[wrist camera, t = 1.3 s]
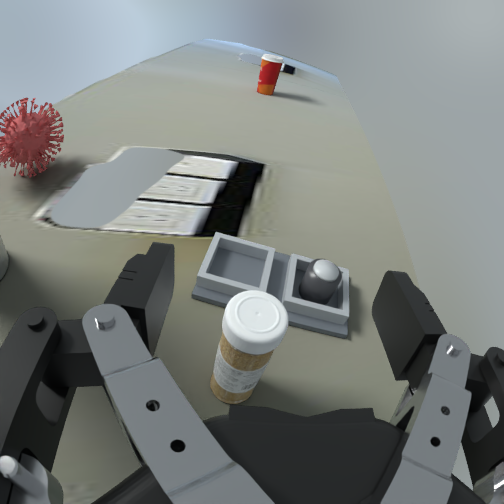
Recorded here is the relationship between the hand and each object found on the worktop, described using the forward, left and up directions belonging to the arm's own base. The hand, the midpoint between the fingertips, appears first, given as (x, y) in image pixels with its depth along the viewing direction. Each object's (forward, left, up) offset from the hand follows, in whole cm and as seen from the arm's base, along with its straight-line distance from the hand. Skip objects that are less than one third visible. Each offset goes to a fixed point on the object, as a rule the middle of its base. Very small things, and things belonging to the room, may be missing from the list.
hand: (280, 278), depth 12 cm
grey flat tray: (+3, +20, -23) cm, 31 cm away
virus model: (-46, +30, -23) cm, 60 cm away
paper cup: (-13, +105, -23) cm, 109 cm away
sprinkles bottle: (0, +5, -23) cm, 24 cm away
